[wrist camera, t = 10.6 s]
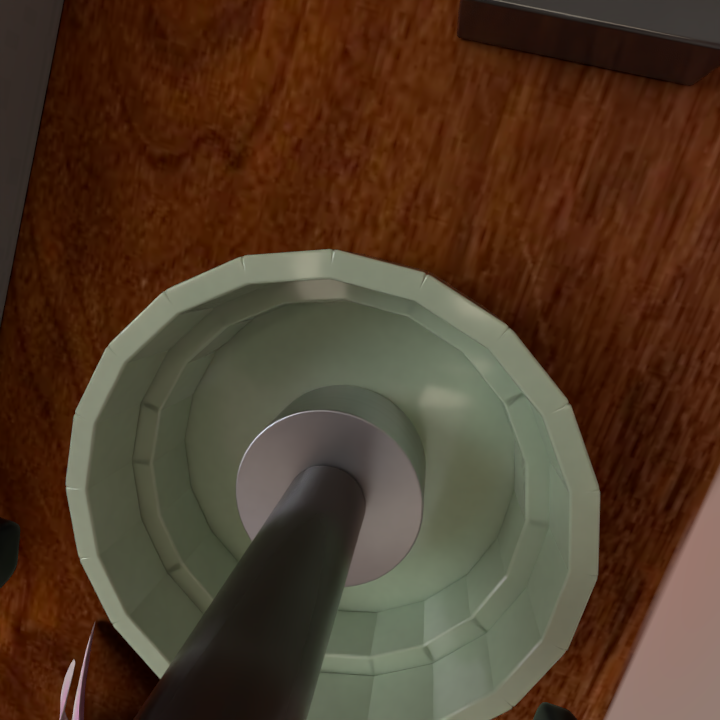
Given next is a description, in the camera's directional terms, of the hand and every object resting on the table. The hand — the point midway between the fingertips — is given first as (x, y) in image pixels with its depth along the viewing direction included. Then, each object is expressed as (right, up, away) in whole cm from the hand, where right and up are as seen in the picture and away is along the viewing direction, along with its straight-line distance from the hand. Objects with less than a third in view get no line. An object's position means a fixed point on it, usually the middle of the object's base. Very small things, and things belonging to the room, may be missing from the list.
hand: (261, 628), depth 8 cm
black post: (+1, +1, +7) cm, 7 cm away
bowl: (+1, +1, +7) cm, 8 cm away
